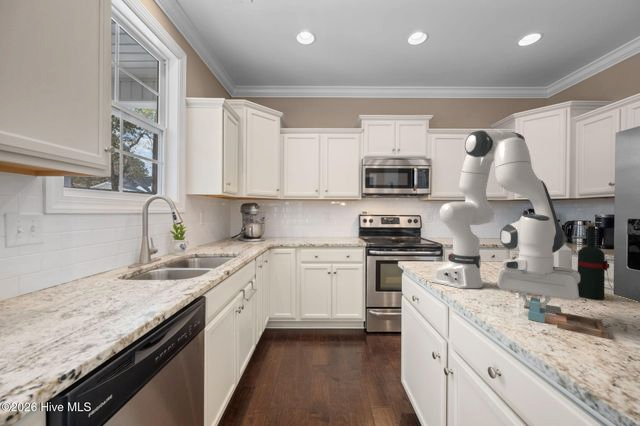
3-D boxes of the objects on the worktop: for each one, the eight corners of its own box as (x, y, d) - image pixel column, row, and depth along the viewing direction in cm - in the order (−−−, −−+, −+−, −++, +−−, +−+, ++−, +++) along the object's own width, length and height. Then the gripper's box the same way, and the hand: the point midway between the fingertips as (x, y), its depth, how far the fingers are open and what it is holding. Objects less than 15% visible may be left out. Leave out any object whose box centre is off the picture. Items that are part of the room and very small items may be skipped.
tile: (544, 323, 83) (544, 317, 83) (544, 318, 87) (545, 312, 87) (566, 328, 80) (566, 321, 80) (565, 323, 84) (565, 316, 84)
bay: (557, 329, 79) (557, 322, 79) (555, 317, 87) (556, 311, 87) (607, 340, 72) (607, 332, 72) (600, 326, 81) (600, 319, 81)
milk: (545, 290, 117) (545, 240, 117) (558, 290, 117) (558, 240, 117) (558, 295, 111) (558, 242, 111) (572, 294, 111) (572, 242, 111)
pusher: (528, 319, 85) (528, 302, 85) (529, 312, 90) (529, 296, 90) (544, 322, 82) (545, 305, 82) (544, 316, 87) (545, 299, 87)
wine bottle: (613, 303, 102) (614, 224, 101) (576, 296, 109) (577, 223, 109) (612, 298, 107) (614, 223, 107) (577, 292, 114) (578, 222, 114)
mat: (523, 309, 95) (523, 308, 95) (525, 301, 102) (525, 300, 102) (561, 316, 88) (561, 315, 88) (560, 308, 96) (560, 307, 96)
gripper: (579, 267, 82) (578, 312, 82) (499, 259, 95) (499, 298, 95) (581, 271, 77) (580, 319, 77) (497, 262, 90) (496, 302, 90)
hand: (535, 307), depth 86 cm, fingers closed on pusher, 2 cm apart
